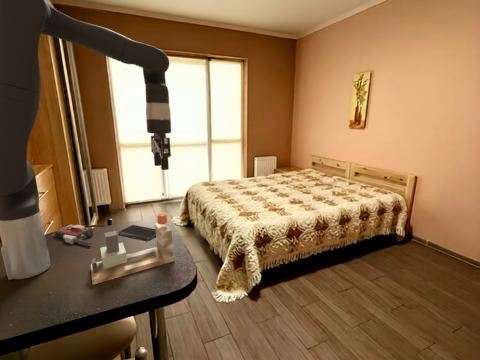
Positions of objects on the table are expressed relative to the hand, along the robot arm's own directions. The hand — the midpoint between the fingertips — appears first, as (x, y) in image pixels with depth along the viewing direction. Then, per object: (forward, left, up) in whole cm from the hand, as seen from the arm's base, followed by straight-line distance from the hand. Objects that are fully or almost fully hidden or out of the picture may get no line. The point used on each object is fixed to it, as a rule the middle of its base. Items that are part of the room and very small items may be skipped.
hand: (161, 167), depth 86 cm
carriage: (-18, -11, -23) cm, 31 cm away
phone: (-7, +11, -27) cm, 31 cm away
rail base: (-13, -11, -27) cm, 32 cm away
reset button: (-4, -11, -15) cm, 19 cm away
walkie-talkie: (-27, +20, -27) cm, 43 cm away
